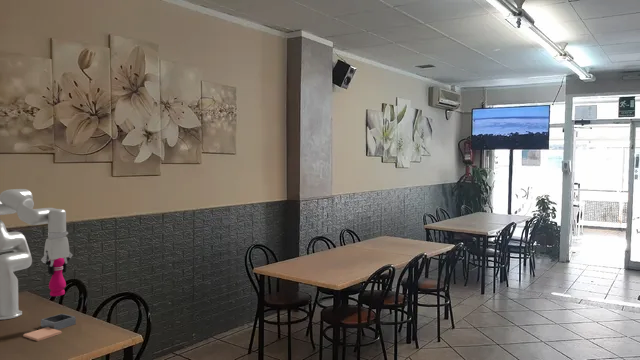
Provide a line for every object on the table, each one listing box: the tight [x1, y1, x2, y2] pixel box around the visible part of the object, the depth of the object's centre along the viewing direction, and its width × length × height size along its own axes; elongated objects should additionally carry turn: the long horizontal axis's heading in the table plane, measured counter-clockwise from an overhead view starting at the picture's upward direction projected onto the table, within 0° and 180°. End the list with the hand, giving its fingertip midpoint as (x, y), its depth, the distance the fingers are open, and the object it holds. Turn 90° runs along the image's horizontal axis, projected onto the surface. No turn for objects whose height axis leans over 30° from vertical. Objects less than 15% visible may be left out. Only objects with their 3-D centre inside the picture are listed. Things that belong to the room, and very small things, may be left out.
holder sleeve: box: [40, 313, 77, 330], centre depth 229 cm, size 11×11×4 cm
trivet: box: [23, 327, 63, 342], centre depth 217 cm, size 11×11×1 cm
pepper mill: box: [48, 258, 67, 297], centre depth 229 cm, size 7×7×20 cm
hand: (57, 272), depth 229 cm, fingers closed on pepper mill, 5 cm apart
